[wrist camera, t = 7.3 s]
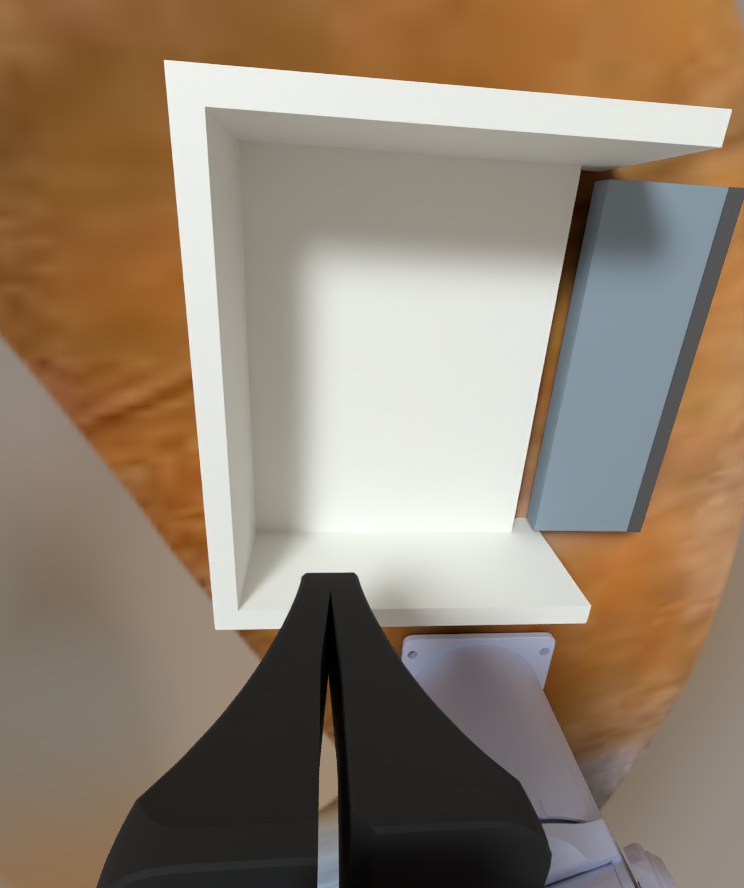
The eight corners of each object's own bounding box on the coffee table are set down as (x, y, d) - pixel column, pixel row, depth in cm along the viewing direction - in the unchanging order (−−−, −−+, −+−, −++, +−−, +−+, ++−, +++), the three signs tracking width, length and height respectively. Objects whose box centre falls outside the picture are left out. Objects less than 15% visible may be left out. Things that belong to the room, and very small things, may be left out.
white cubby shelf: (526, 532, 24) (586, 623, 18) (242, 532, 23) (215, 629, 17) (606, 145, 18) (732, 109, 12) (218, 115, 16) (163, 59, 11)
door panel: (526, 517, 23) (626, 518, 23) (534, 531, 22) (640, 532, 22) (594, 182, 17) (723, 190, 18) (610, 179, 16) (746, 188, 17)
